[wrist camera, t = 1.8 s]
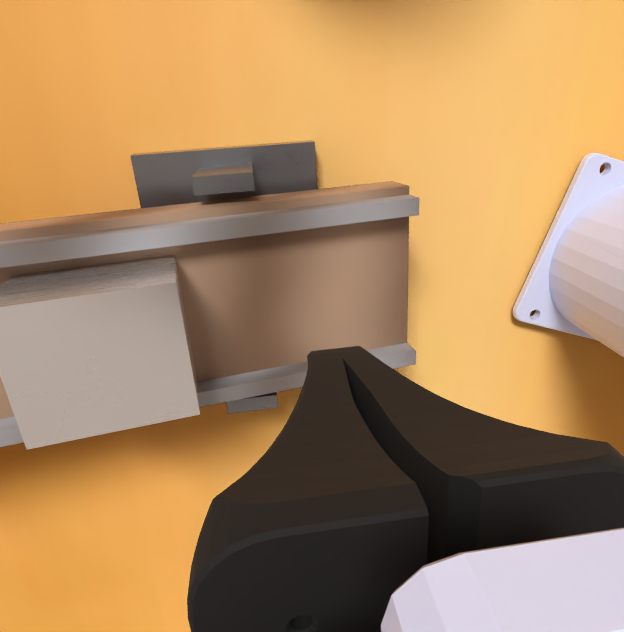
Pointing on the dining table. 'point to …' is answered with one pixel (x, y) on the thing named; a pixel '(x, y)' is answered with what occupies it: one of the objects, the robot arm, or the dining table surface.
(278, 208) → the beam
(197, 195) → the fulcrum stand
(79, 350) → the block
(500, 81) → the dining table surface
